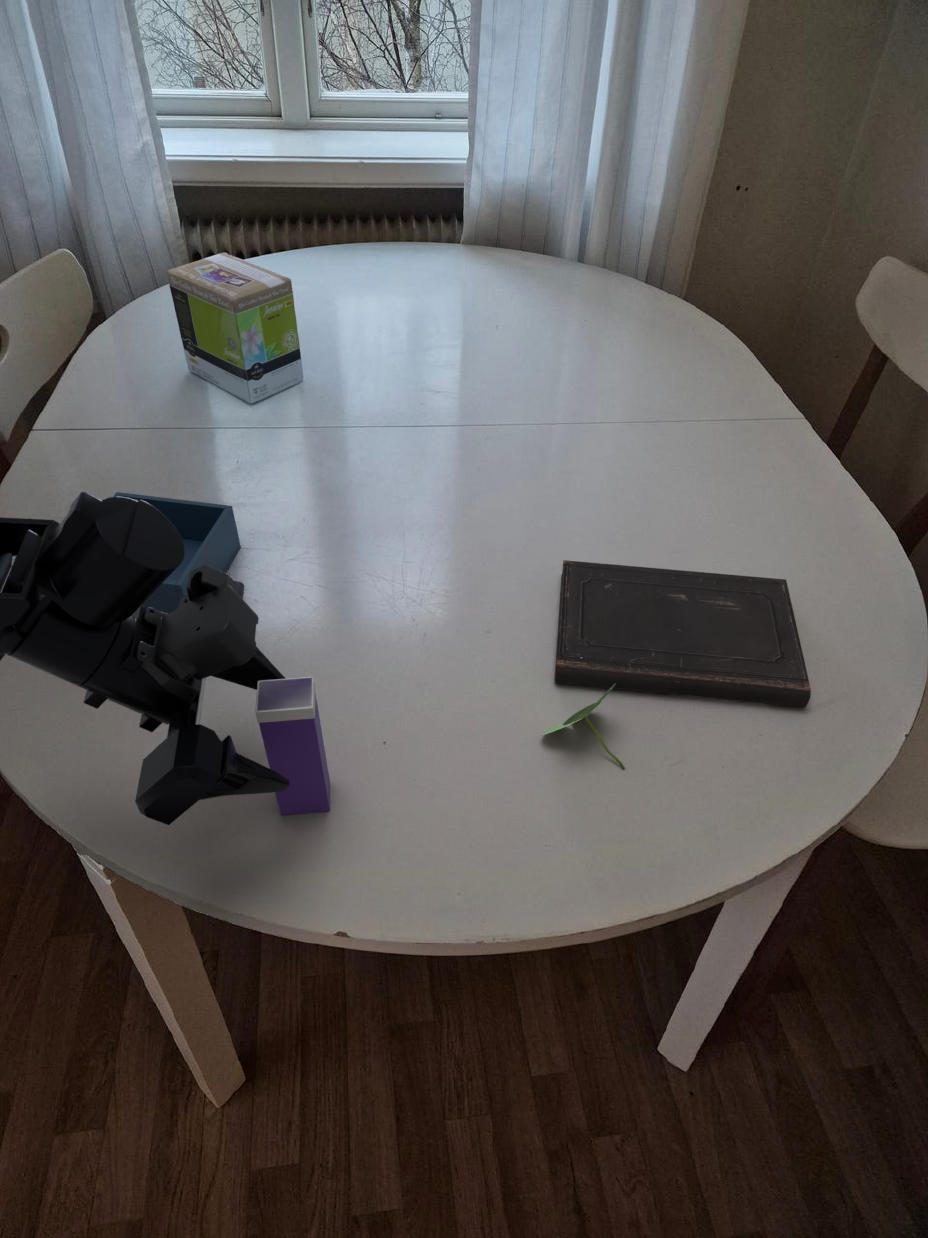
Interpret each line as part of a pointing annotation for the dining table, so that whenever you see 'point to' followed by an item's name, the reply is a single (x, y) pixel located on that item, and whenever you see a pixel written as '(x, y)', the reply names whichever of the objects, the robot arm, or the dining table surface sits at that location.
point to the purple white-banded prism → (294, 743)
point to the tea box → (237, 325)
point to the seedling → (584, 714)
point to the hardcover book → (679, 634)
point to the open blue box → (193, 543)
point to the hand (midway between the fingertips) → (288, 737)
